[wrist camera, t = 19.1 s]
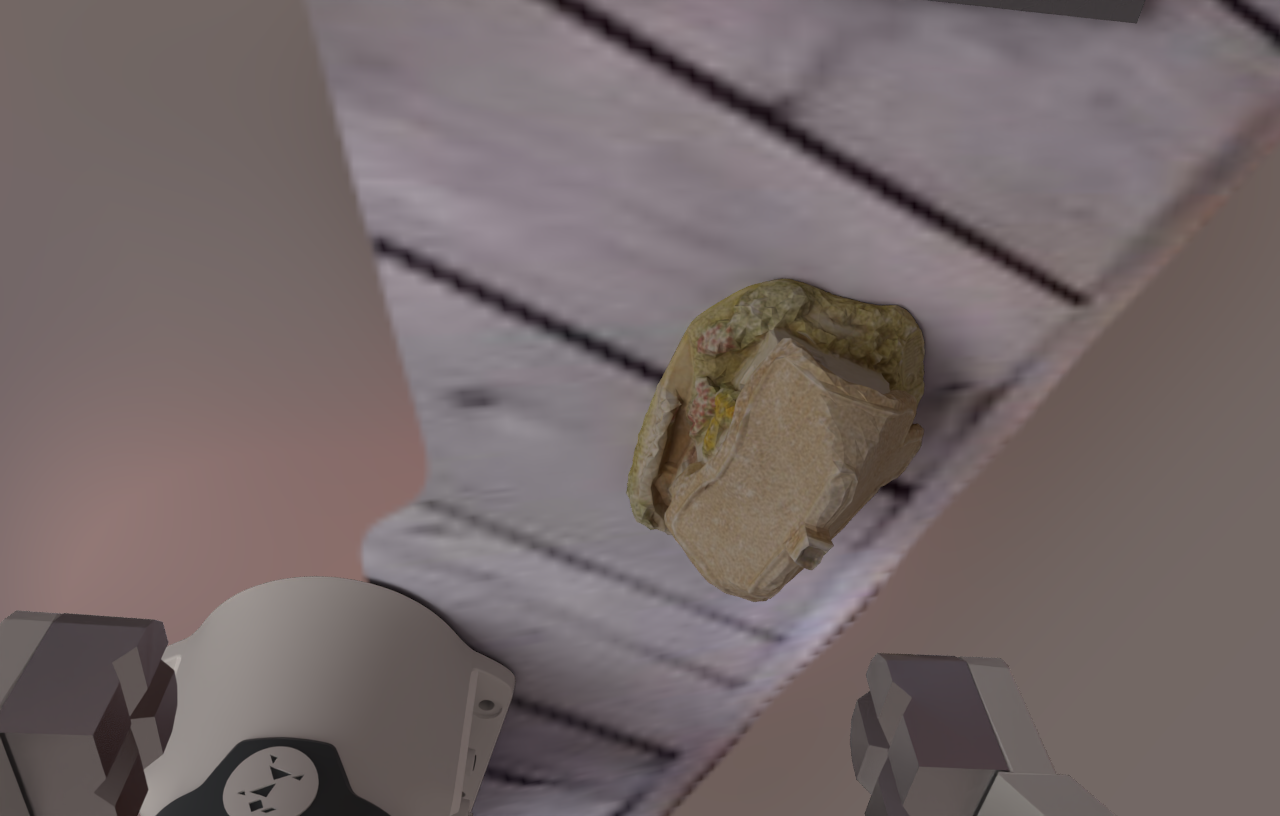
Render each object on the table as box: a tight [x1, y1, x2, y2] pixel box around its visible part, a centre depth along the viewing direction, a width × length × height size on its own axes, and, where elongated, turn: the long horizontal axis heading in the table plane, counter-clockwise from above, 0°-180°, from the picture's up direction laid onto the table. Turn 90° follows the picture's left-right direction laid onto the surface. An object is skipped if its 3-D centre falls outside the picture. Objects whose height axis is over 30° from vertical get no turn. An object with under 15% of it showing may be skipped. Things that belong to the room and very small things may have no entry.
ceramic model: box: [626, 279, 925, 602], centre depth 41 cm, size 14×11×10 cm
